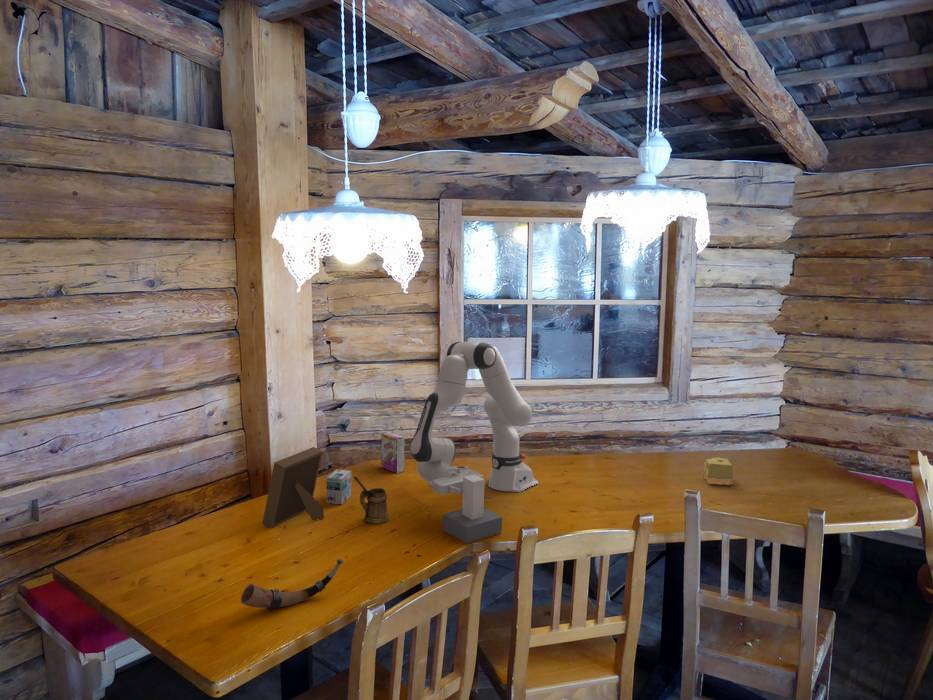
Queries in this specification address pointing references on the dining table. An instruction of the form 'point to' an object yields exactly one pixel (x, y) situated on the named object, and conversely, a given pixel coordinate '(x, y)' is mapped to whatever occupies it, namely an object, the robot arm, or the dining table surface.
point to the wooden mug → (374, 504)
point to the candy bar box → (392, 452)
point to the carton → (473, 497)
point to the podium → (471, 525)
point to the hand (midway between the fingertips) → (471, 489)
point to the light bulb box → (338, 486)
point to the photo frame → (293, 488)
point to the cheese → (718, 468)
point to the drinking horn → (283, 593)
